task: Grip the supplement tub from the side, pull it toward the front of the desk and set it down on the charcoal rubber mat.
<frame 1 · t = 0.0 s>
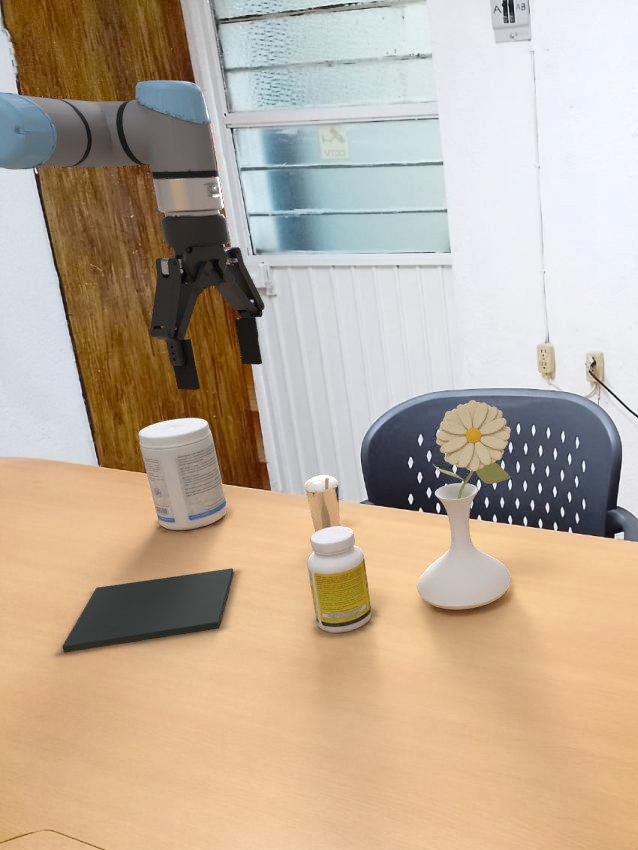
hand: (222, 375, 113), 23 cm above the table, tool pointing down, fingers open, 13 cm apart
milkshake: (330, 539, 118), on the table
supplement tub: (193, 520, 125), on the table
pill bottle: (345, 621, 97), on the table
flower in vase: (472, 596, 101), on the table
mat: (155, 609, 100), on the table
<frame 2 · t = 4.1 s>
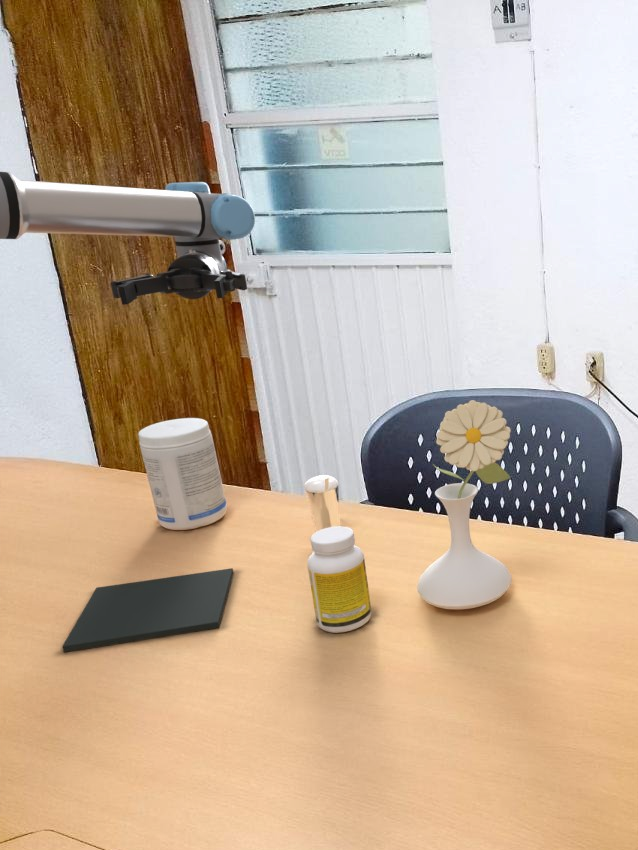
hand: (171, 292, 129), 32 cm above the table, tool horizontal, fingers open, 13 cm apart
nothing on the table moved.
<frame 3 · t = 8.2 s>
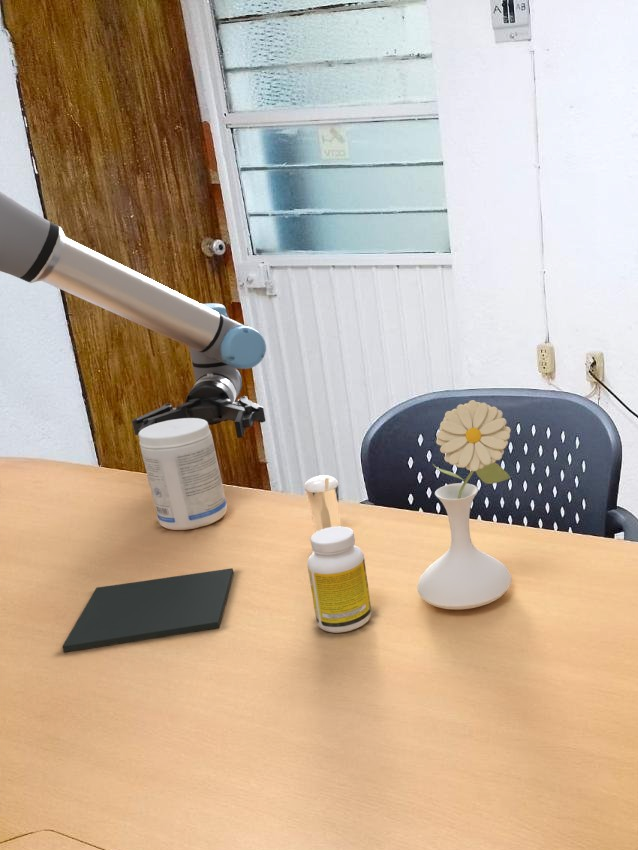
hand: (192, 434, 131), 10 cm above the table, tool horizontal, fingers open, 13 cm apart
nothing on the table moved.
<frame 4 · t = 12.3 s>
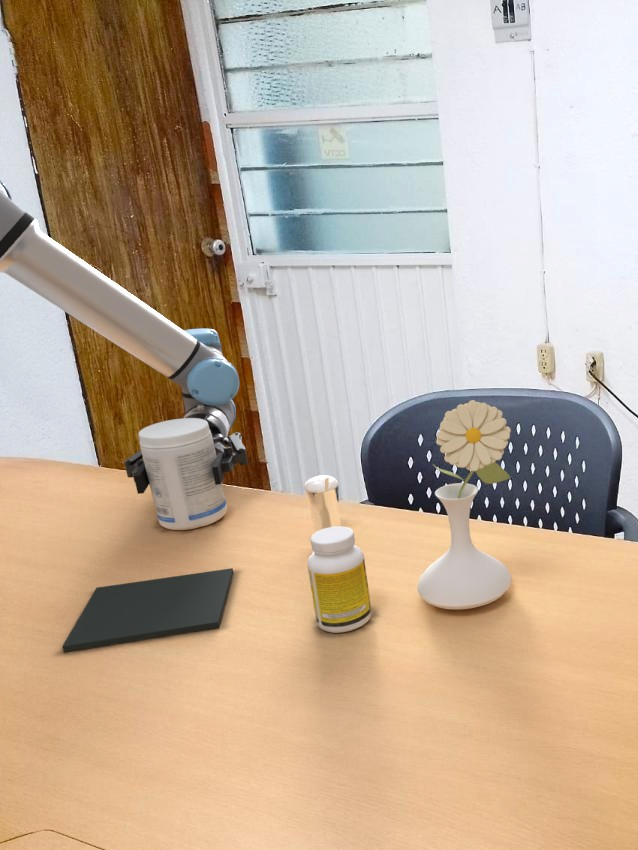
hand: (178, 480, 119), 8 cm above the table, tool horizontal, fingers closed on supplement tub, 9 cm apart
supplement tub: (193, 520, 125), on the table, touching gripper
everything else where it was.
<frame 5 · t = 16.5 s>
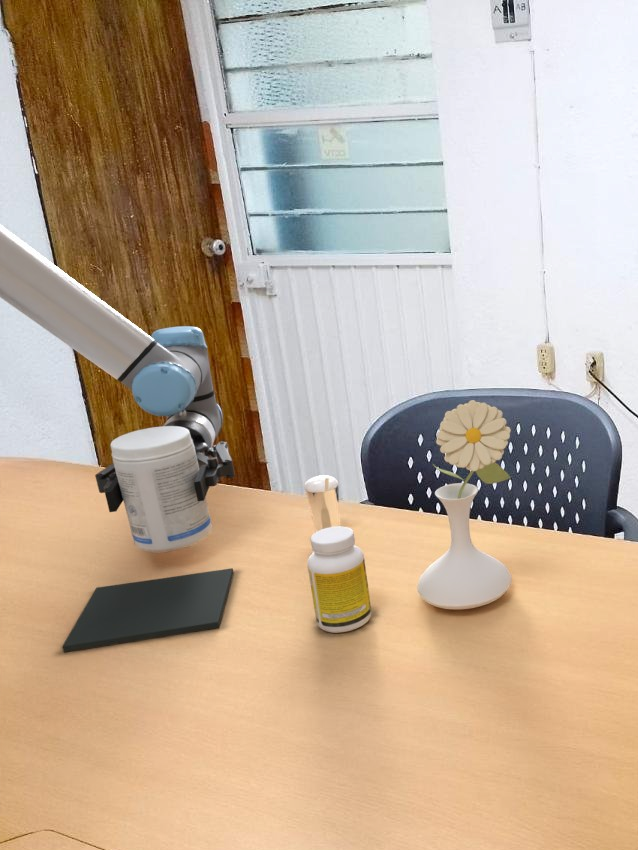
hand: (155, 496, 105), 11 cm above the table, tool horizontal, fingers closed on supplement tub, 9 cm apart
supplement tub: (174, 540, 112), point 3 cm above the table, touching gripper
everything else where it was.
when the fingers open (9 cm above the table, at t = 20.6 s): supplement tub stays where it is, resting on mat.
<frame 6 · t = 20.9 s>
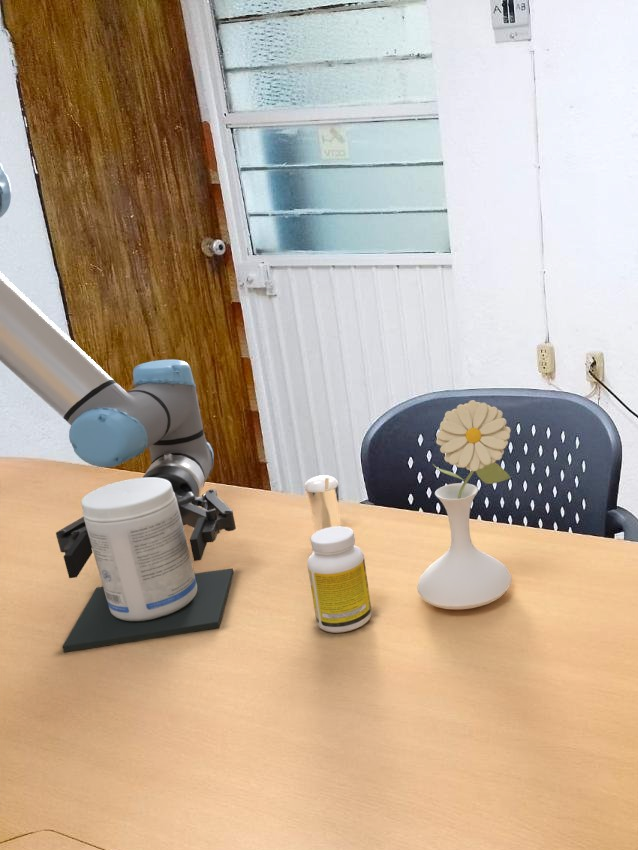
hand: (133, 558, 94), 9 cm above the table, tool horizontal, fingers open, 12 cm apart
supplement tub: (155, 605, 100), point 1 cm above the table, touching mat
everything else where it was.
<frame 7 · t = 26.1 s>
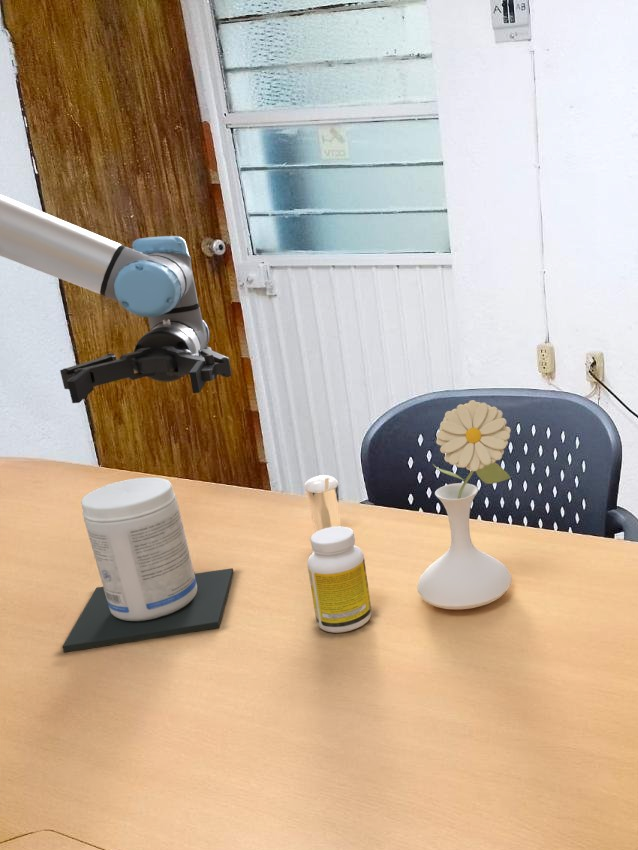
hand: (134, 387, 103), 25 cm above the table, tool horizontal, fingers open, 13 cm apart
nothing on the table moved.
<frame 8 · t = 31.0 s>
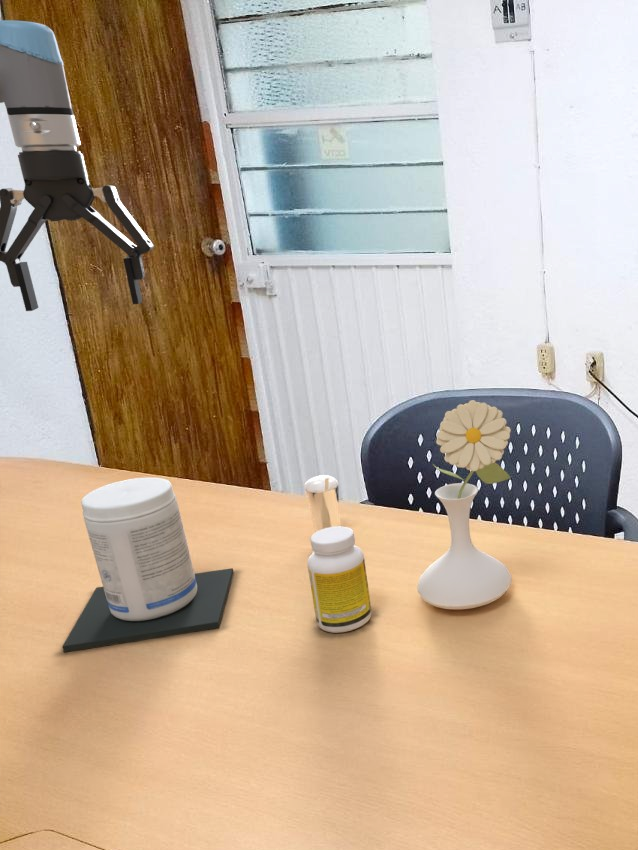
hand: (86, 306, 119), 32 cm above the table, tool pointing down, fingers open, 13 cm apart
nothing on the table moved.
at the end: supplement tub inside the target area on the mat (0.0 cm from its centre), point 0.6 cm above the mat's base; supplement tub tilted 0°; the gripper is holding nothing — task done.
